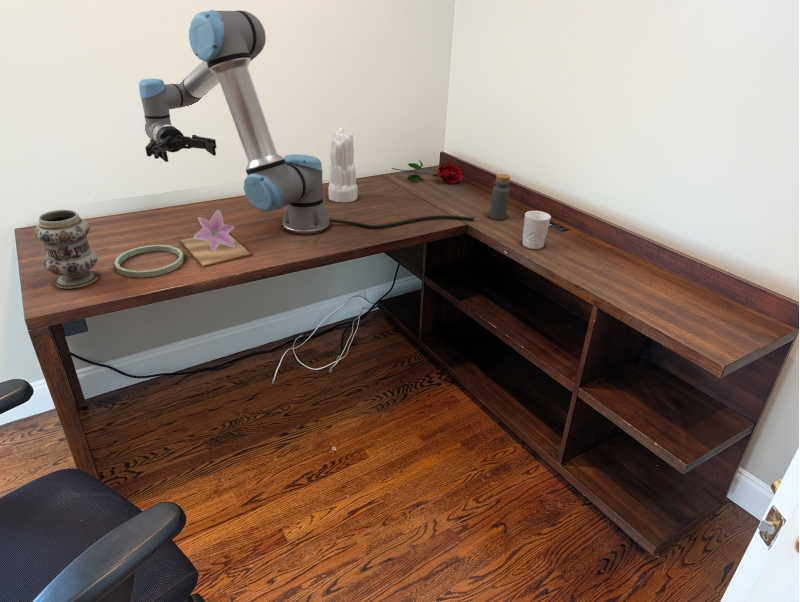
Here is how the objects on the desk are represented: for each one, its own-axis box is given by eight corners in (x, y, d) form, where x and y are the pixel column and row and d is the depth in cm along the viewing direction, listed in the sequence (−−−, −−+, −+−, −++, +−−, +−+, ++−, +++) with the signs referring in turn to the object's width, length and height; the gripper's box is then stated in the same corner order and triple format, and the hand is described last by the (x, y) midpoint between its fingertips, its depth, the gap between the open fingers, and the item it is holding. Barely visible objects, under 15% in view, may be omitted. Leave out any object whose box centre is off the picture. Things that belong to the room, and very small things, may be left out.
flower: (393, 154, 213) (466, 162, 217) (391, 159, 223) (461, 166, 226) (391, 177, 214) (464, 184, 217) (389, 181, 223) (459, 188, 226)
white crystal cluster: (352, 203, 195) (352, 134, 183) (325, 200, 197) (322, 132, 184) (360, 194, 205) (360, 128, 192) (333, 191, 206) (332, 125, 194)
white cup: (531, 251, 164) (536, 221, 159) (515, 242, 170) (519, 212, 165) (550, 247, 168) (556, 217, 163) (534, 238, 174) (539, 209, 169)
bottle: (487, 218, 188) (492, 176, 180) (491, 212, 192) (496, 172, 185) (503, 221, 186) (509, 179, 178) (507, 215, 191) (513, 174, 183)
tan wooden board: (180, 241, 162) (180, 240, 161) (225, 232, 169) (225, 230, 169) (203, 266, 148) (202, 264, 148) (250, 255, 155) (250, 253, 155)
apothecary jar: (107, 283, 138) (89, 218, 129) (53, 295, 131) (30, 228, 122) (98, 265, 146) (81, 203, 137) (48, 276, 140) (26, 211, 131)
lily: (189, 256, 154) (195, 234, 148) (191, 227, 161) (196, 204, 154) (231, 263, 160) (239, 241, 153) (231, 234, 166) (238, 213, 160)
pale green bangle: (194, 253, 155) (193, 248, 154) (163, 280, 140) (161, 275, 139) (139, 247, 157) (138, 242, 156) (102, 273, 142) (100, 268, 141)
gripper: (210, 145, 175) (234, 160, 160) (128, 154, 162) (147, 173, 147) (206, 121, 171) (231, 135, 157) (123, 129, 158) (141, 145, 144)
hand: (190, 153), depth 152 cm, fingers open, 13 cm apart
